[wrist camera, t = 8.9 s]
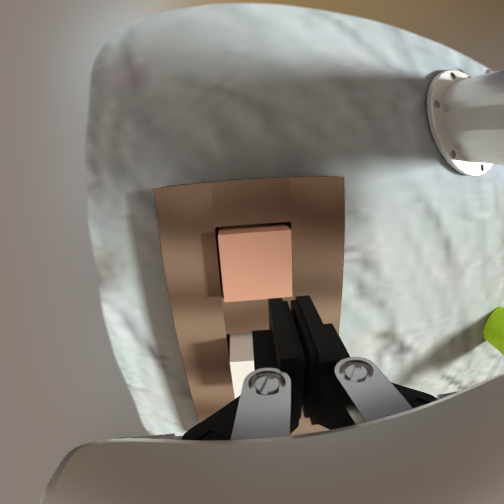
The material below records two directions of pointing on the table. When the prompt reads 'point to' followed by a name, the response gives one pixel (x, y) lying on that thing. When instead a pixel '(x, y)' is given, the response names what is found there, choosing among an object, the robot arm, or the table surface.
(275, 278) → the terracotta key
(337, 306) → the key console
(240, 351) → the ivory key
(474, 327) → the table surface
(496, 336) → the soap dispenser
